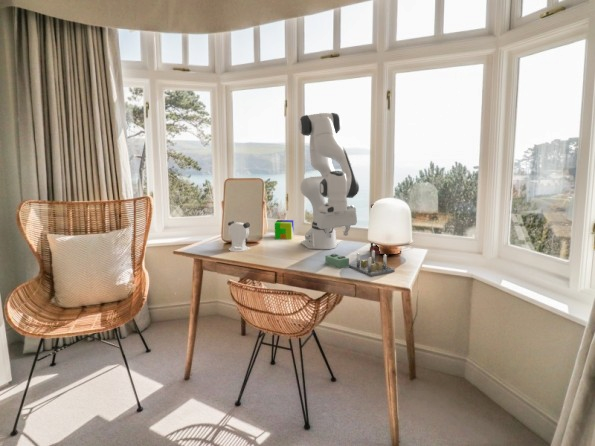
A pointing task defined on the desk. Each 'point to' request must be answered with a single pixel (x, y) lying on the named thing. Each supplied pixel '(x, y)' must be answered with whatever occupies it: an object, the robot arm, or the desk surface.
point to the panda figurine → (239, 236)
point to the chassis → (371, 266)
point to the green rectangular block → (337, 260)
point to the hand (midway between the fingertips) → (337, 236)
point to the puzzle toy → (284, 229)
